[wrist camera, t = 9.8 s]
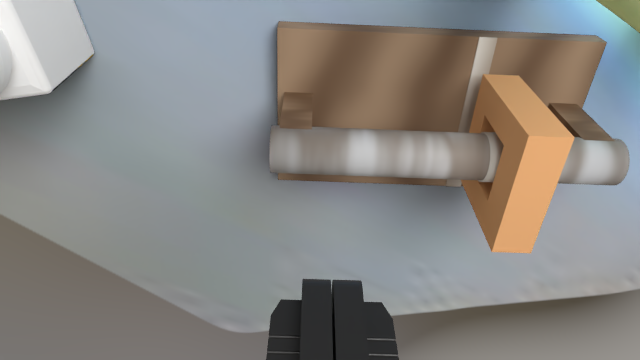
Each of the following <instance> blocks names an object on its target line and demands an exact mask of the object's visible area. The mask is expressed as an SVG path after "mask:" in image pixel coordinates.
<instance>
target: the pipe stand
mask: <svg viewBox="0 0 640 360" xmlns="http://www.w3.org/2000/svg"><path fill="white" fill-rule="evenodd" d="M606 43H607V42H605V41H604V40H602V39H601V38H599V37H598V36H596V35H573V34H551V33H528V32H506V31H484V30H461V29H439V28H416V27H394V26H372V25H349V24H327V23H304V22H282V21H279V23H278V27H277V69H278V125H272V126H271V133H270V151H269V164H270V173H278V180H302V181H329V182H357V183H384V184H412V185H439V186H448V187H461V186H463V184H462V182H461V180H478V181H479V182H493V181H494V178H495V174H496V171H497V167H498V164H499V161H500V157H501V154H502V150H503V147H504V145H503V143H502V142H501V140H500V139H499V137H498V135H497V134H496V132H481V133H469V130H470V126H471V122H472V118H473V114H474V109H475V105H476V101H477V97H478V93H479V89H480V85H481V80H482V76H483V74H492V75H516V76H520V77H521V79H522V80H523V81H524V82H525V83H526V84H527V85H528V86H529V87H530V89H531V90H532V91H533V92H534V93H535V94H536V95H537V96H538V97H539V98H540V100H541V101H542V102H543V103H544V104H545V105H546V106H547V107H548V108H549V110H550V111H551V112H552V113H553V114H554V115H555V116H556V117H557V118H558V120H559V121H560V122H561V123H562V124H563V125H564V126H565V127H566V128H567V130H568V131H569V132H570V133H571V134H572V135H573V136H574V137H575V138H574V141H573V144H572V146H571V149H570V151H569V154H568V157H567V159H566V162H565V165H564V167H563V170H562V172H561V175H560V178H559V180H558V183H564V184H591V185H617V184H619V183H621V182H622V181H623V179H624V178H625V176H626V174H627V172H628V168H629V152H628V148H627V146H626V145H625V143H624V142H623V141H622V140H620V139H612V138H611V137H610V136H609V135H608V134H607V133H606V132H605V131H604V130H603V129H602V128H601V127H600V126H599V125H598V124H597V123H596V122H595V121H594V120H593V119H592V118H591V117H590V116H589V115H588V114H587V113H586V112H585V111H584V110H583V109H582V107H583V104H584V102H585V99H586V96H587V94H588V91H589V88H590V86H591V83H592V80H593V78H594V75H595V72H596V70H597V67H598V64H599V62H600V59H601V56H602V54H603V51H604V49H605V46H606Z"/></svg>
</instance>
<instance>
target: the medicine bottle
mask: <svg viewBox="0 0 640 360" xmlns="http://www.w3.org/2000/svg"><path fill="white" fill-rule="evenodd" d="M93 54H94V49H93V46H92V44H91V41H90V39H89V36H88V34H87V31H86V29H85V26H84V24H83V21H82V19H81V16H80V14H79V12H78V9H77V7H76V4H75V2H74V0H0V100H6V99H14V98H21V97H29V96H36V95H44V94H49V93H51V92H52V91H53V90H55V89H56V88H57V87H58V86H59V85H60V84H61V83H62V82H64V81H65V80H66V79H67V78H68V77H69V76H70V75H71V74H73V73H74V72H75V71H76V70H77V69H78V68H79V67H80V66H82V65H83V64H84V63H85V62H86V61H87V60H88V59H89V58H91V57H92V56H93Z"/></svg>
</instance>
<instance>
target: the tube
mask: <svg viewBox="0 0 640 360" xmlns="http://www.w3.org/2000/svg"><path fill="white" fill-rule="evenodd" d="M596 1H598V2H599V3H601V4H602V5H603V6H605V7H606V8H608V9H609V10H610V11H612V12H613V13H614V14H616V15H617V16H618V17H620V18H621V19H622V20H624V21H625V22H626V23H628V24H629V25H630V26H631V27H633V28H634V29H635V30H636V31H638V32H639V33H640V0H596Z"/></svg>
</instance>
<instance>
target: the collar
mask: <svg viewBox="0 0 640 360" xmlns="http://www.w3.org/2000/svg"><path fill="white" fill-rule="evenodd" d="M481 132H496V134H497V135H498V137H499V139H500V140H501V142H502V143H503V145H504V147H503V150H502V154H501V157H500V161H499V164H498V167H497V171H496V174H495V178H494V181H493V182H479V181H478V180H461V182H462V184H463V187H464V189H465V191H466V194H467V196H468V198H469V200H470V203H471V205H472V207H473V210H474V212H475V214H476V217H477V219H478V221H479V224H480V226H481V228H482V230H483V233H484V235H485V237H486V240H487V242H488V244H489V247H490V249H491V251H492V252H512V253H531V251H532V249H533V246H534V243H535V241H536V238H537V236H538V233H539V230H540V228H541V225H542V222H543V220H544V217H545V215H546V212H547V209H548V207H549V204H550V201H551V199H552V196H553V193H554V191H555V188H556V186H557V183H558V180H559V178H560V175H561V172H562V170H563V167H564V165H565V162H566V159H567V157H568V154H569V151H570V149H571V146H572V144H573V141H574V138H575V137H574V136H573V135H572V134H571V133H570V132H569V131H568V130H567V128H566V127H565V126H564V125H563V124H562V123H561V122H560V121H559V120H558V118H557V117H556V116H555V115H554V114H553V113H552V112H551V111H550V110H549V108H548V107H547V106H546V105H545V104H544V103H543V102H542V101H541V100H540V98H539V97H538V96H537V95H536V94H535V93H534V92H533V91H532V90H531V89H530V87H529V86H528V85H527V84H526V83H525V82H524V81H523V80H522V79H521V77H520V76H516V75H492V74H483V76H482V80H481V85H480V89H479V93H478V97H477V101H476V105H475V109H474V114H473V118H472V122H471V126H470V130H469V133H481Z"/></svg>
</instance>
